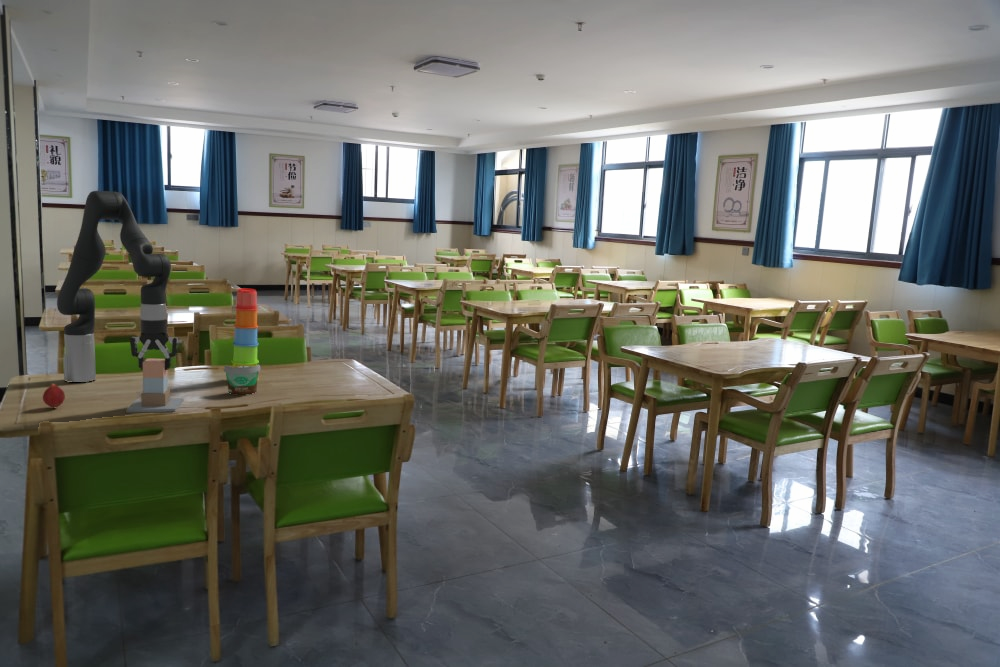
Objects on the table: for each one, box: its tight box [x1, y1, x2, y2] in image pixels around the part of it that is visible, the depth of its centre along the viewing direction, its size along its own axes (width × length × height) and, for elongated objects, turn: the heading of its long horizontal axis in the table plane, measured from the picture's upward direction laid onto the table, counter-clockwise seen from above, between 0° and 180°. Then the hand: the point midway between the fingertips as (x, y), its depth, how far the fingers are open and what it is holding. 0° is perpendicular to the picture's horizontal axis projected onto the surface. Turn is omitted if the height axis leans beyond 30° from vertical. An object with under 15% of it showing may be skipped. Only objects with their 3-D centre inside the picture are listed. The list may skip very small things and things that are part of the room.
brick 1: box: [142, 358, 169, 379], centre depth 234 cm, size 6×6×5 cm
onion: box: [42, 383, 66, 408], centre depth 227 cm, size 6×6×8 cm
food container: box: [223, 364, 261, 396], centre depth 256 cm, size 12×6×10 cm, turn 117°
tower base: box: [126, 388, 185, 413], centre depth 235 cm, size 14×14×5 cm
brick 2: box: [142, 374, 168, 393], centre depth 234 cm, size 6×6×5 cm
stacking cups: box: [230, 287, 260, 381], centre depth 275 cm, size 10×10×35 cm
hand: (155, 369), depth 234 cm, fingers open, 6 cm apart
